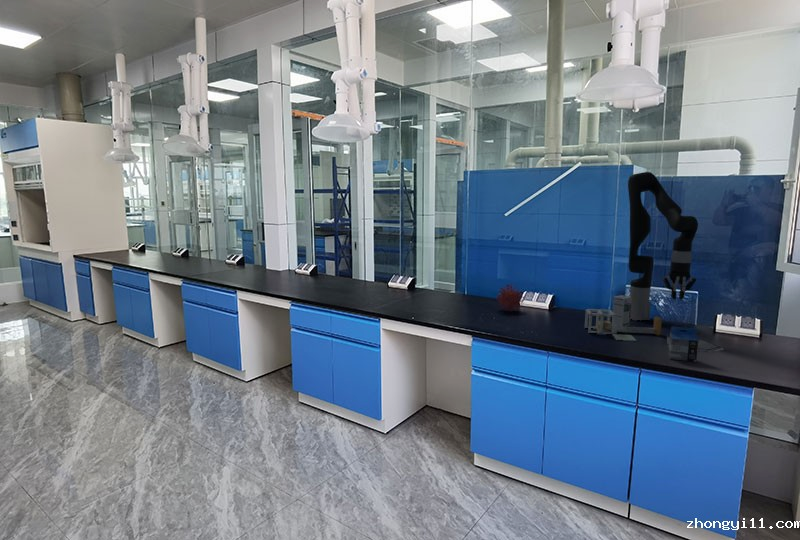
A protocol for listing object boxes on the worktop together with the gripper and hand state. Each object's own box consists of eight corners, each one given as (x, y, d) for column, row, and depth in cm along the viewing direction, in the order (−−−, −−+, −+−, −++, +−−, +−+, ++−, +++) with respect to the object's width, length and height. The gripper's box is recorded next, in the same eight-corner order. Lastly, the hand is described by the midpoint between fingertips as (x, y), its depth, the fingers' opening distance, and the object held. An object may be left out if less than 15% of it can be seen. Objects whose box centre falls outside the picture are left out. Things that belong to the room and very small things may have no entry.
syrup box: (622, 327, 219) (624, 298, 217) (611, 324, 224) (613, 295, 222) (629, 326, 222) (632, 297, 219) (619, 323, 227) (621, 294, 225)
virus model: (493, 313, 247) (494, 286, 245) (498, 307, 261) (499, 281, 258) (521, 315, 242) (522, 288, 239) (524, 309, 255) (526, 283, 253)
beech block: (607, 330, 213) (608, 320, 213) (610, 333, 209) (611, 323, 208) (596, 330, 214) (597, 319, 214) (598, 333, 210) (599, 322, 209)
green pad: (631, 336, 204) (631, 335, 204) (636, 341, 196) (636, 340, 196) (612, 335, 206) (612, 334, 206) (616, 340, 198) (616, 339, 198)
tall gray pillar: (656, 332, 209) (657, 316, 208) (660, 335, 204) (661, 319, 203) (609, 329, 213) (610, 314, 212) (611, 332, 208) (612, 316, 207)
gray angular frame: (612, 329, 215) (613, 310, 214) (617, 335, 206) (619, 314, 205) (584, 328, 218) (585, 308, 216) (588, 333, 208) (589, 313, 207)
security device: (731, 357, 178) (732, 352, 178) (666, 348, 189) (667, 344, 189) (726, 346, 193) (726, 341, 193) (666, 338, 204) (666, 334, 204)
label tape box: (669, 359, 174) (672, 328, 172) (667, 356, 178) (670, 326, 176) (696, 362, 171) (699, 331, 169) (693, 359, 175) (696, 328, 173)
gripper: (694, 260, 203) (690, 298, 205) (660, 259, 205) (657, 296, 208) (702, 262, 195) (698, 301, 198) (666, 261, 198) (663, 300, 201)
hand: (677, 299), depth 203 cm, fingers closed
